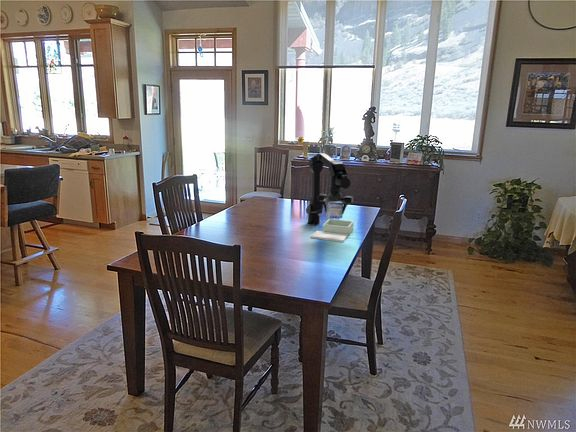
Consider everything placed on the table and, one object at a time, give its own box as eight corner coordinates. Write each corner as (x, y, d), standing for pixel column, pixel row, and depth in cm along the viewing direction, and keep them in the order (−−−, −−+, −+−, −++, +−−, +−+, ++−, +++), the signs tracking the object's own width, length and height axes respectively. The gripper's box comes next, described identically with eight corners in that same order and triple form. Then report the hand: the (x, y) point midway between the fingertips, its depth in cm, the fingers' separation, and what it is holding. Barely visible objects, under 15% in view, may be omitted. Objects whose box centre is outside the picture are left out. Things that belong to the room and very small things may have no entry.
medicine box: (329, 218, 222) (330, 203, 220) (326, 216, 226) (326, 201, 224) (342, 218, 225) (343, 202, 222) (339, 216, 229) (340, 201, 227)
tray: (310, 237, 222) (310, 236, 221) (316, 232, 232) (316, 230, 232) (343, 242, 216) (343, 240, 216) (347, 236, 226) (347, 234, 226)
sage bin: (322, 232, 231) (323, 224, 230) (328, 226, 244) (329, 218, 242) (348, 236, 227) (349, 227, 225) (353, 229, 239) (353, 221, 238)
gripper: (315, 186, 217) (314, 215, 220) (350, 189, 211) (348, 218, 215) (320, 183, 227) (319, 210, 231) (354, 186, 221) (352, 214, 225)
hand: (334, 213), depth 225 cm, fingers closed on medicine box, 9 cm apart
